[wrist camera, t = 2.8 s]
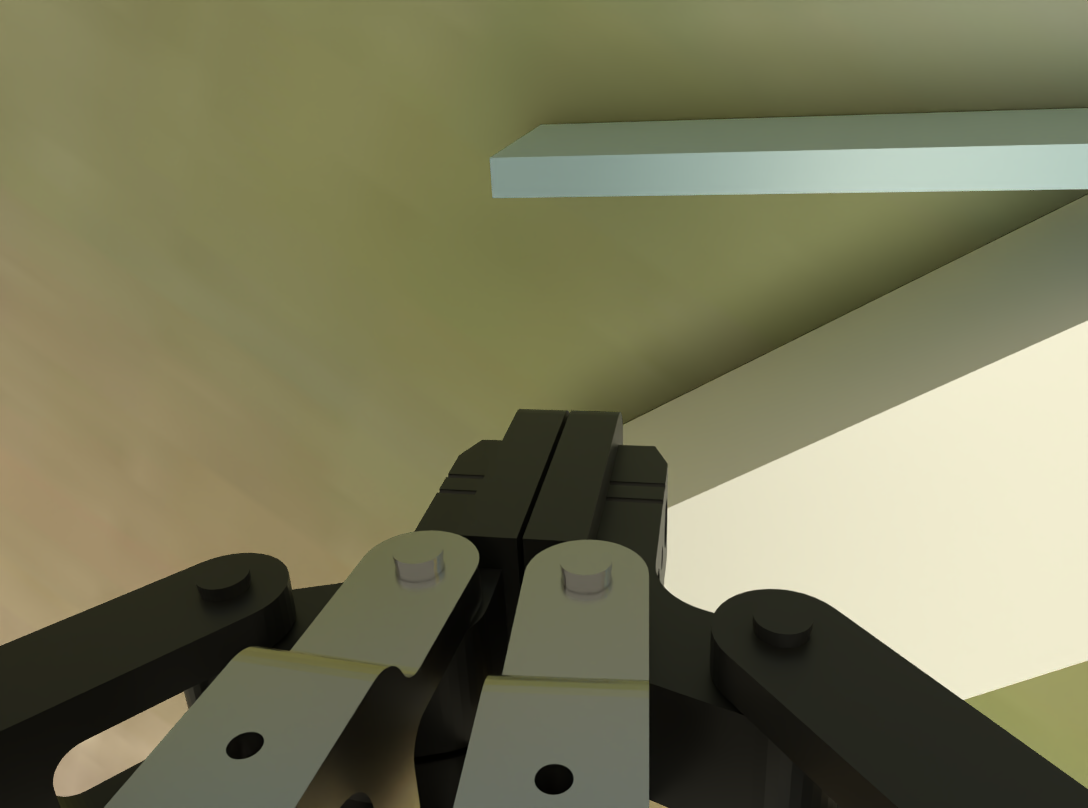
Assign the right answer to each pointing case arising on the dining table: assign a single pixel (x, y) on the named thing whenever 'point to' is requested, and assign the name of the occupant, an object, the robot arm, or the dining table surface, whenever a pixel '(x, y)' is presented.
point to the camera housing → (908, 465)
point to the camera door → (800, 155)
